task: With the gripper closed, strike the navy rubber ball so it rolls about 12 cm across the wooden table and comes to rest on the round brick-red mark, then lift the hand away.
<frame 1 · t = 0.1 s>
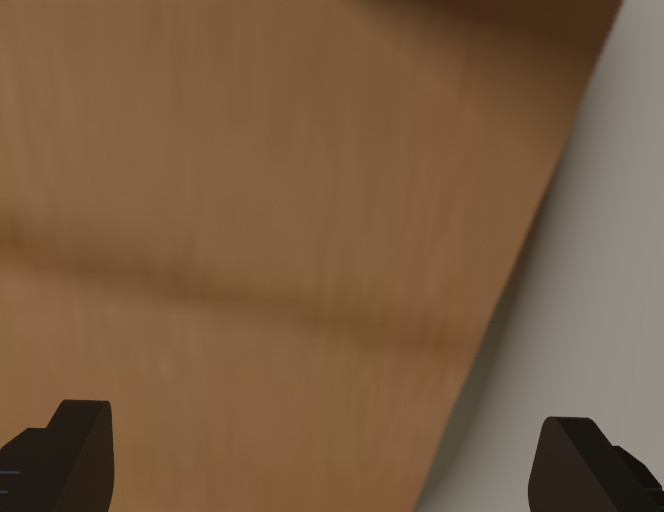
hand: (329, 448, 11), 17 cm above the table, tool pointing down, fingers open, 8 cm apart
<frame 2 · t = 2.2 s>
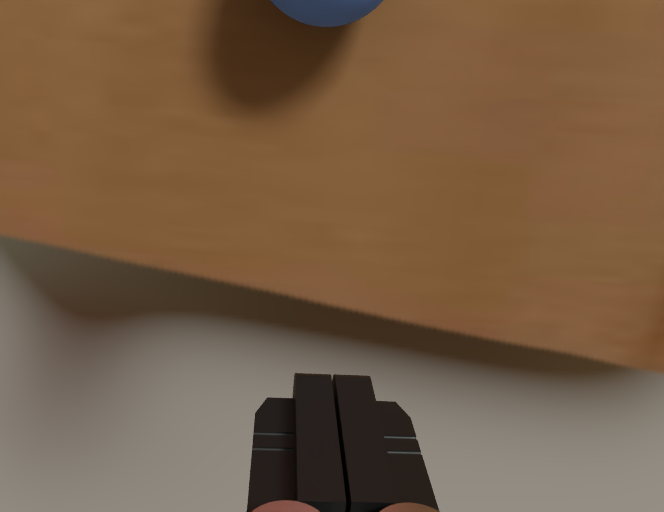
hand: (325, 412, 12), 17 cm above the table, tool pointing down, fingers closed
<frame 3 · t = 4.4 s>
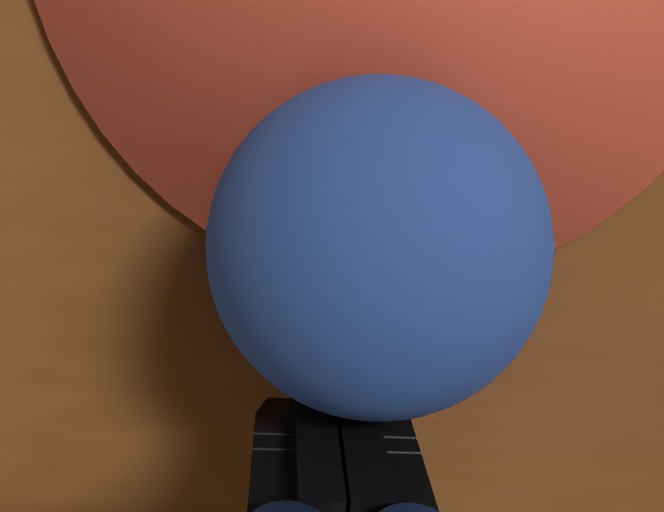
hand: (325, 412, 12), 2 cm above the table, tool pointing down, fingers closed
ball: (376, 248, 10), on the table, touching gripper
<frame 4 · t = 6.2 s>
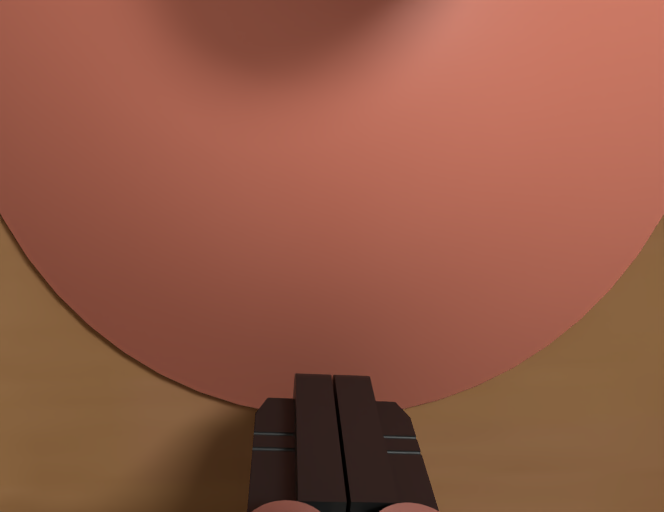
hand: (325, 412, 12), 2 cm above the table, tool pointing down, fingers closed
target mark: (346, 100, 12), on the table
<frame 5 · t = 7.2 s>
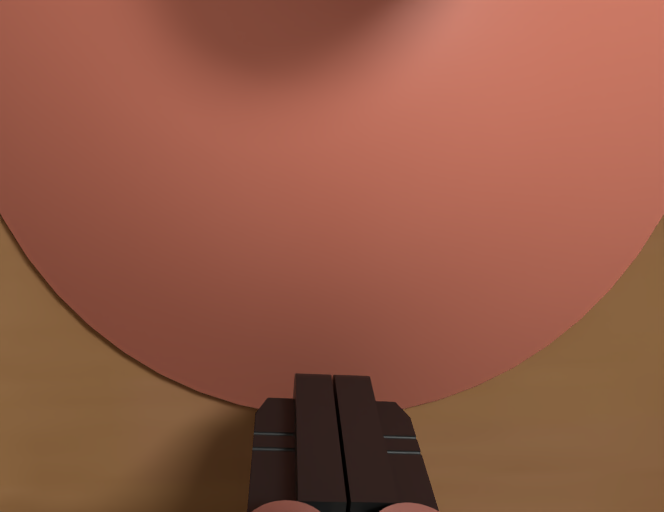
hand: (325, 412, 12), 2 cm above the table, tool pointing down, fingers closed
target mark: (346, 100, 12), on the table
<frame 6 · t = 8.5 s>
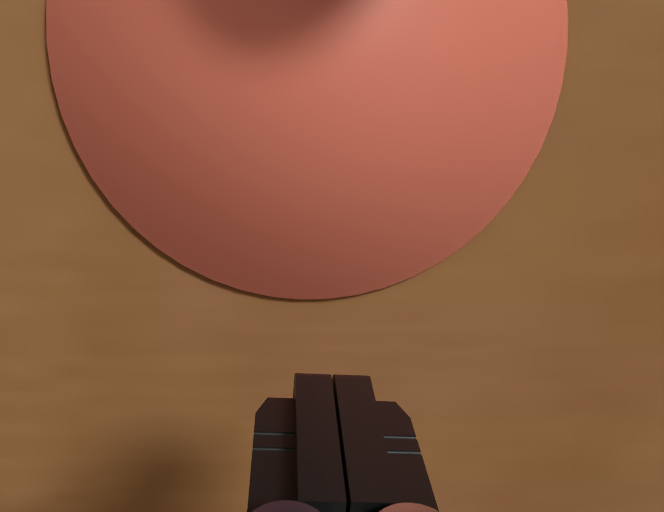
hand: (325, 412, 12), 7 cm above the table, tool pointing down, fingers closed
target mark: (315, 65, 17), on the table
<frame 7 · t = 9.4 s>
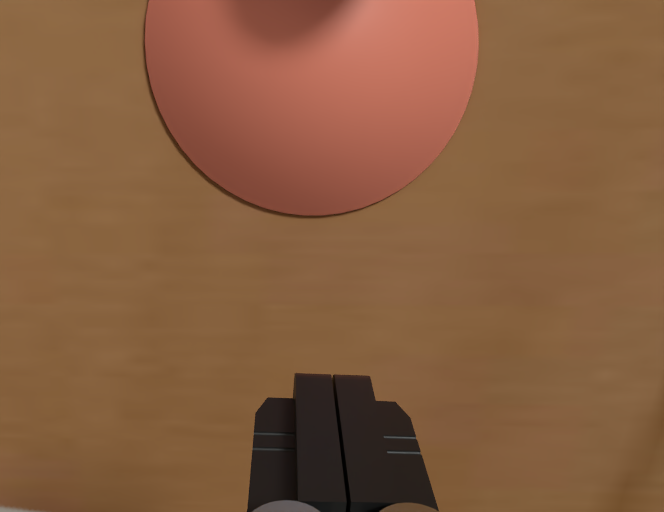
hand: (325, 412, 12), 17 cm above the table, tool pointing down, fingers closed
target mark: (314, 56, 26), on the table
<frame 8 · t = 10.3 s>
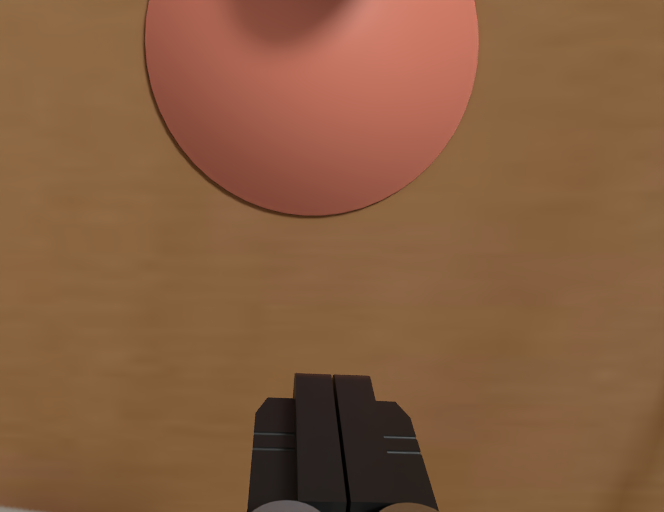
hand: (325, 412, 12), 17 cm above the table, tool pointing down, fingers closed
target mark: (314, 56, 26), on the table
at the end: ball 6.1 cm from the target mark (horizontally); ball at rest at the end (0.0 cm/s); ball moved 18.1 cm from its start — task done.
